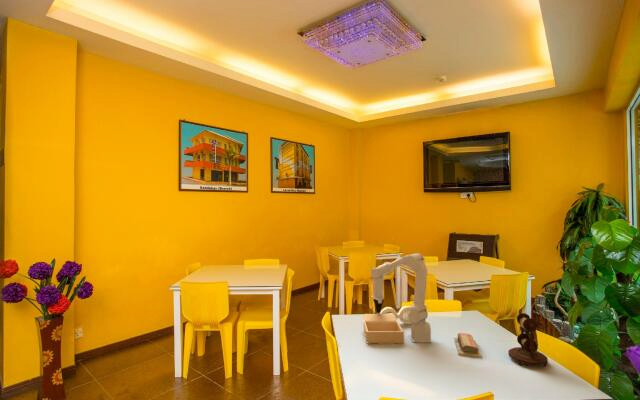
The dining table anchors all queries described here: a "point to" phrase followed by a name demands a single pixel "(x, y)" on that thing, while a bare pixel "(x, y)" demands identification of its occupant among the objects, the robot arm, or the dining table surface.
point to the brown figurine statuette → (527, 343)
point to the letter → (402, 312)
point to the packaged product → (467, 345)
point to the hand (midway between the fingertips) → (378, 312)
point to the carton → (383, 332)
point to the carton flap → (379, 318)
